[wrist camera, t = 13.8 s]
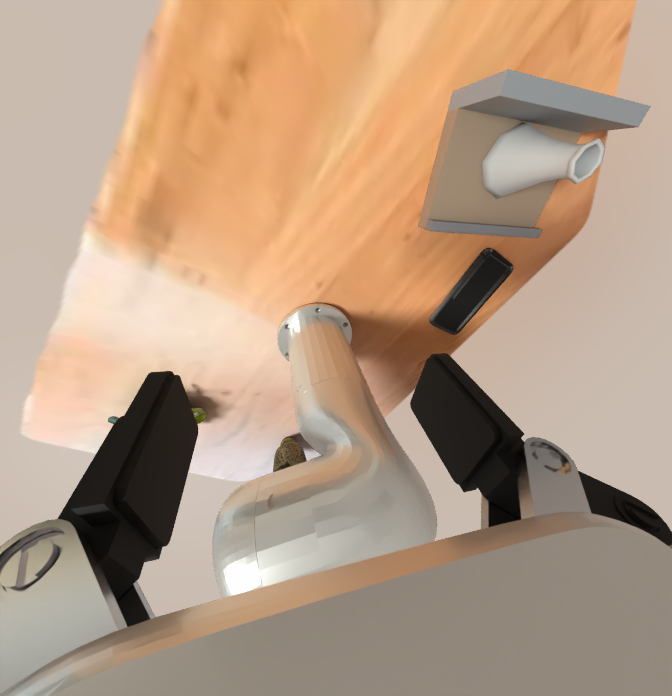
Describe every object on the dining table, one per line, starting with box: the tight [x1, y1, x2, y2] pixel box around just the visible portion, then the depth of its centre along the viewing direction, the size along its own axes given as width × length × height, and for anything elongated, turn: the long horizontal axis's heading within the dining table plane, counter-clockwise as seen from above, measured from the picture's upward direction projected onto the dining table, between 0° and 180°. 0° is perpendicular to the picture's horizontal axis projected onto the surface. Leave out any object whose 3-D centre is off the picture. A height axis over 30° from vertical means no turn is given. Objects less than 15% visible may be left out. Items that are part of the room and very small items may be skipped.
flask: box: [482, 122, 605, 199], centre depth 27 cm, size 7×7×10 cm
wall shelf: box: [418, 69, 651, 238], centre depth 30 cm, size 14×18×8 cm
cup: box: [273, 437, 306, 472], centre depth 55 cm, size 8×7×8 cm
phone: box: [429, 248, 513, 335], centre depth 44 cm, size 8×1×15 cm
